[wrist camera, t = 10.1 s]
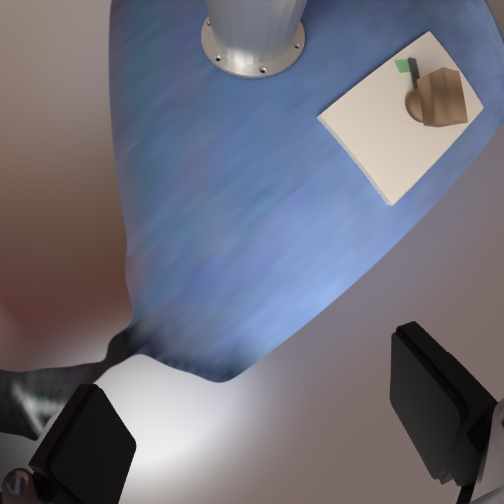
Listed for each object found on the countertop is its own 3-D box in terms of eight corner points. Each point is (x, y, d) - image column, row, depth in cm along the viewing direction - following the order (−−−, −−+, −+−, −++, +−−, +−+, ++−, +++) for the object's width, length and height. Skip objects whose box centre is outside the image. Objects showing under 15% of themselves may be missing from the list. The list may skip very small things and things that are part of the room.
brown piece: (434, 129, 31) (474, 123, 23) (408, 127, 31) (446, 118, 23) (423, 62, 28) (457, 44, 21) (396, 57, 28) (428, 35, 21)
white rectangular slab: (387, 204, 35) (393, 206, 33) (316, 117, 32) (320, 114, 31) (478, 108, 31) (484, 107, 30) (424, 34, 29) (429, 30, 27)
